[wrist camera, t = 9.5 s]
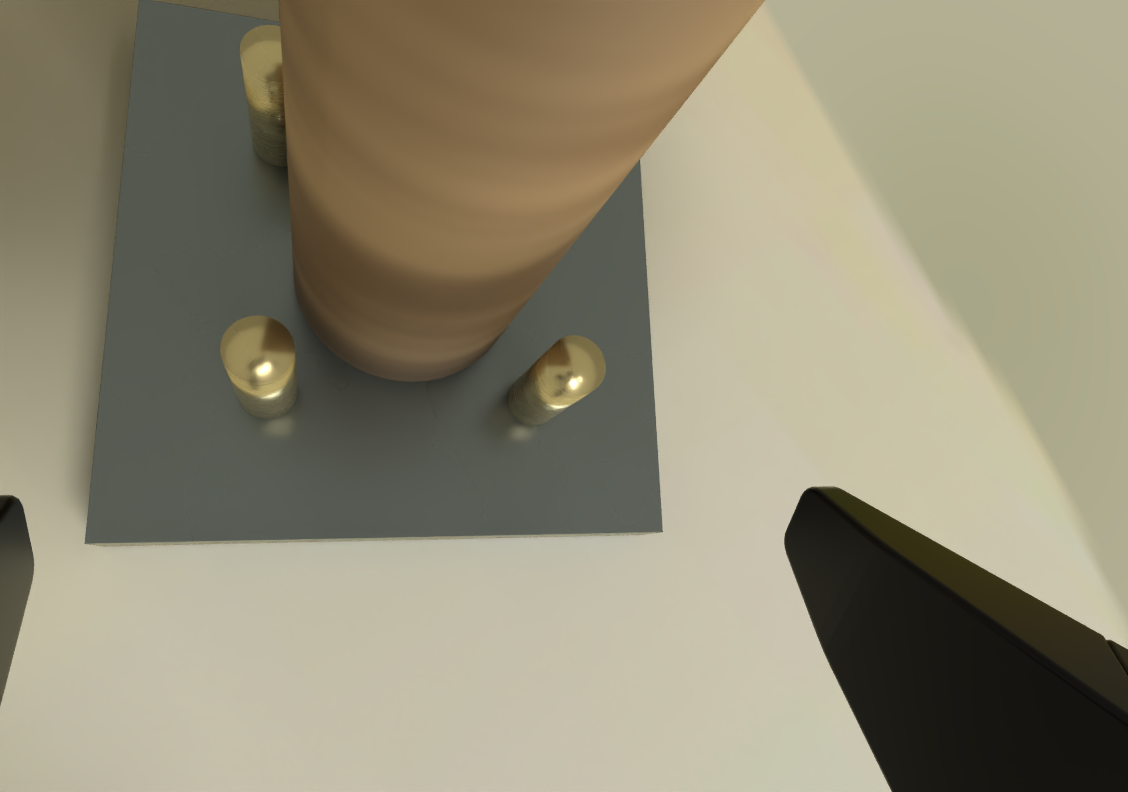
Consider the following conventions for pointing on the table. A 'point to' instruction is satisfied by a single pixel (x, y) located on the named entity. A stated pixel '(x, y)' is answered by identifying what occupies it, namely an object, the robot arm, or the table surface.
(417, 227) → the walnut post
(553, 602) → the table surface
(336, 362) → the plate
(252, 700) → the table surface
